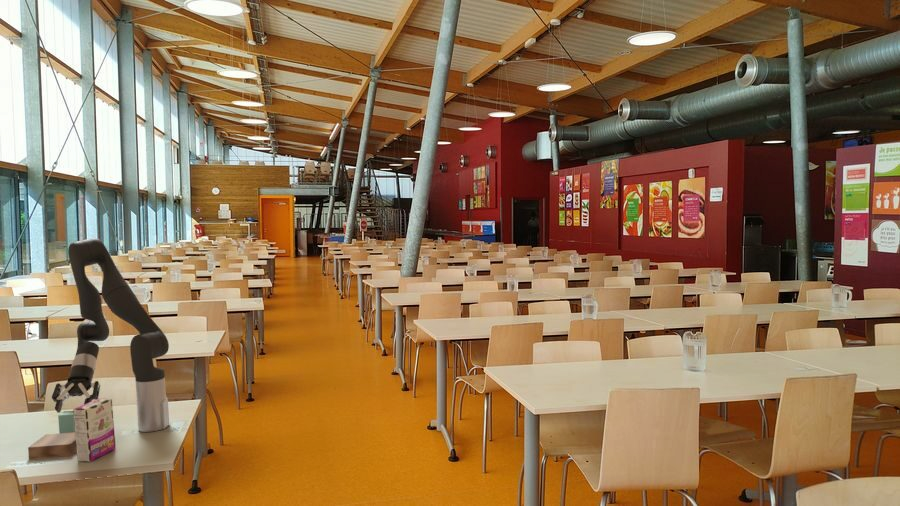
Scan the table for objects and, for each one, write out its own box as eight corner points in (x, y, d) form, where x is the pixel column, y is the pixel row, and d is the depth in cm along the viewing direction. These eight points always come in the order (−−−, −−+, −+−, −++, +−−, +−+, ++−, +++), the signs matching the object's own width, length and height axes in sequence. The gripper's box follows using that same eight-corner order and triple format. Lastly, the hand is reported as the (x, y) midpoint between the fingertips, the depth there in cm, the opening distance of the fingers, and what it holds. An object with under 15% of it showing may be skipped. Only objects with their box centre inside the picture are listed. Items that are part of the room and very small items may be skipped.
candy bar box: (102, 448, 210) (99, 397, 208) (116, 449, 209) (113, 398, 207) (75, 461, 199) (72, 408, 198) (90, 462, 198) (86, 408, 197)
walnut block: (86, 443, 216) (85, 431, 216) (71, 456, 204) (70, 444, 204) (46, 446, 214) (45, 434, 214) (29, 460, 202) (28, 447, 202)
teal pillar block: (79, 433, 225) (78, 410, 225) (74, 437, 221) (72, 414, 220) (65, 434, 225) (63, 411, 224) (59, 439, 220) (58, 415, 220)
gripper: (57, 365, 232) (44, 406, 221) (100, 362, 234) (90, 403, 223) (64, 376, 237) (52, 417, 227) (107, 373, 239) (97, 414, 229)
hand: (71, 410), depth 225 cm, fingers open, 8 cm apart
